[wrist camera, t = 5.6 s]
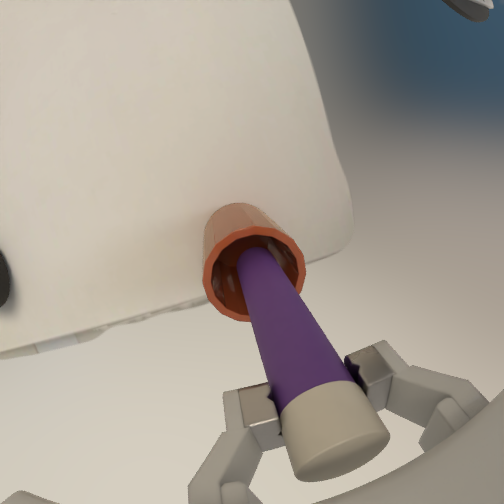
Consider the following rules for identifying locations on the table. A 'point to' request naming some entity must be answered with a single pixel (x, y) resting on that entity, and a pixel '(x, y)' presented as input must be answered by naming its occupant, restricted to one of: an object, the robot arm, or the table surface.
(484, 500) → the robot arm
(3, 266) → the smart speaker
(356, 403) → the glue stick
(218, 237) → the pencil cup
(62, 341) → the table surface
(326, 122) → the table surface
